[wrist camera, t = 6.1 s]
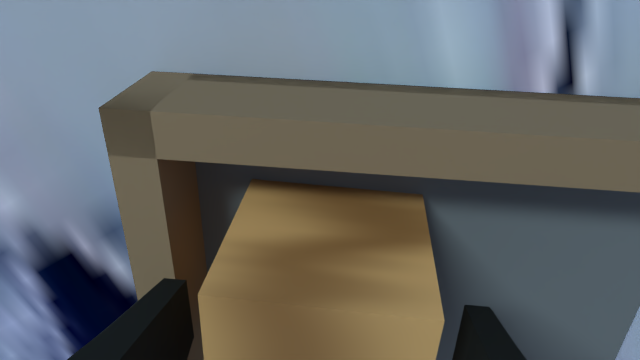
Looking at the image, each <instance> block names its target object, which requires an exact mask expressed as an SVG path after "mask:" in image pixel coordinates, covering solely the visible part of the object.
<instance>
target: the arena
mask: <svg viewBox="0 0 640 360" xmlns="http://www.w3.org/2000/svg"><path fill="white" fill-rule="evenodd" d="M99 113H100V117H101V122H102V127H103V132H104V137H105V142H106V147H107V152H108V157H109V161H110V166H111V171H112V176H113V181H114V186H115V191H116V196H117V200H118V205H119V210H120V215H121V220H122V225H123V230H124V235H125V240H126V244H127V249H128V254H129V259H130V264H131V269H132V274H133V279H134V284H135V288H136V293H137V298H138V300H140V299H141V298H142V297H143V296H144V295H145V294H146V293H147V292H149V291H150V290H151V289H152V288H153V287H154V286H155V285H157V284H158V283H159V282H160V281H161V280H162V279H164V278H169V279H180V280H187V288H188V295H189V302H190V309H191V317H192V324H193V331H194V339H193V342H192V345H191V349H190V352H189V355H188V358H187V360H204V355H203V345H202V334H201V324H200V314H199V304H198V293H199V291H200V288H201V286H202V284H203V282H204V280H205V278H206V276H207V274H208V271H209V269H210V267H211V265H212V263H213V261H214V259H215V257H216V254H217V252H218V250H219V248H220V246H221V244H222V242H223V240H224V237H225V235H226V233H227V231H228V229H229V227H230V225H231V223H232V220H233V218H234V216H235V214H236V212H237V210H238V208H239V206H240V203H241V201H242V199H243V197H244V195H245V193H246V191H247V189H248V186H249V184H250V182H251V180H252V179H258V180H269V181H280V182H291V183H302V184H313V185H324V186H335V187H346V188H357V189H368V190H379V191H390V192H401V193H412V194H423V199H424V205H425V211H426V217H427V222H428V228H429V234H430V240H431V245H432V251H433V257H434V263H435V268H436V274H437V280H438V286H439V291H440V297H441V303H442V309H443V314H444V320H445V322H444V326H443V330H442V334H441V339H440V343H439V347H438V352H437V356H436V360H452V358H453V354H454V349H455V345H456V341H457V336H458V332H459V327H460V323H461V318H462V314H463V310H464V305H475V306H486V307H490V308H491V309H492V310H493V312H494V313H495V315H496V316H497V318H498V319H499V321H500V322H501V324H502V325H503V327H504V328H505V330H506V331H507V333H508V334H509V335H510V337H511V338H512V340H513V341H514V343H515V344H516V345H517V347H518V348H519V350H520V351H521V353H522V354H523V355H524V357H525V358H526V359H527V360H615V358H616V356H617V354H618V352H619V350H620V347H621V345H622V343H623V341H624V339H625V336H626V334H627V332H628V330H629V328H630V326H631V323H632V321H633V319H634V317H635V315H636V312H637V310H638V308H639V306H640V98H623V97H605V96H587V95H569V94H551V93H533V92H515V91H497V90H479V89H461V88H443V87H425V86H407V85H388V84H370V83H352V82H334V81H316V80H298V79H280V78H262V77H244V76H226V75H208V74H190V73H172V72H154V71H152V72H150V73H149V74H147V75H146V76H145V77H143V78H142V79H140V80H139V81H137V82H136V83H134V84H133V85H131V86H130V87H129V88H127V89H126V90H124V91H123V92H121V93H120V94H118V95H117V96H115V97H114V98H113V99H111V100H110V101H108V102H107V103H105V104H104V105H102V106H101V107H99Z"/></svg>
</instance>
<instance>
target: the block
mask: <svg viewBox="0 0 640 360" xmlns="http://www.w3.org/2000/svg"><path fill="white" fill-rule="evenodd" d="M198 304H199V314H200V324H201V334H202V345H203V355H204V360H436V356H437V352H438V347H439V343H440V339H441V334H442V330H443V326H444V322H445V320H444V314H443V309H442V303H441V297H440V291H439V286H438V280H437V274H436V268H435V263H434V257H433V251H432V245H431V240H430V234H429V228H428V222H427V217H426V211H425V205H424V199H423V194H412V193H401V192H390V191H379V190H368V189H357V188H346V187H335V186H324V185H313V184H302V183H291V182H280V181H269V180H258V179H252V180H251V182H250V184H249V186H248V189H247V191H246V193H245V195H244V197H243V199H242V201H241V203H240V206H239V208H238V210H237V212H236V214H235V216H234V218H233V220H232V223H231V225H230V227H229V229H228V231H227V233H226V235H225V237H224V240H223V242H222V244H221V246H220V248H219V250H218V252H217V254H216V257H215V259H214V261H213V263H212V265H211V267H210V269H209V271H208V274H207V276H206V278H205V280H204V282H203V284H202V286H201V288H200V291H199V293H198Z"/></svg>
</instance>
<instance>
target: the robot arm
mask: <svg viewBox="0 0 640 360" xmlns="http://www.w3.org/2000/svg"><path fill="white" fill-rule="evenodd" d="M193 339H194V331H193V324H192V317H191V309H190V302H189V295H188V288H187V280H180V279H169V278H164V279H162V280H161V281H160V282H159V283H158V284H157V285H155V286H154V287H153V288H152V289H151V290H150V291H149V292H147V293H146V294H145V295H144V296H143V297H142V298H141V299H140V300H138V301H137V302H136V303H135V304H134V305H133V306H132V307H131V308H129V309H128V310H127V311H126V312H125V313H124V314H123V315H121V316H120V317H119V318H118V319H117V320H116V321H114V322H113V323H112V324H111V325H110V326H108V327H107V328H106V329H105V330H104V331H103V332H101V333H100V334H99V335H98V336H97V337H95V338H94V339H93V340H92V341H90V342H89V343H88V344H86V345H85V346H84V347H83V348H81V349H80V350H79V351H77V352H76V353H75V354H74V355H72V356H71V357H70V358H69V359H67V360H187V358H188V355H189V352H190V349H191V345H192V342H193ZM452 360H527V359H526V358H525V357H524V355H523V354H522V353H521V351H520V350H519V348H518V347H517V345H516V344H515V343H514V341H513V340H512V338H511V337H510V335H509V334H508V333H507V331H506V330H505V328H504V327H503V325H502V324H501V322H500V321H499V319H498V318H497V316H496V315H495V313H494V312H493V310H492V309H491V308H490V307H486V306H475V305H464V310H463V314H462V318H461V323H460V327H459V332H458V336H457V341H456V345H455V349H454V354H453V358H452Z"/></svg>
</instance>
